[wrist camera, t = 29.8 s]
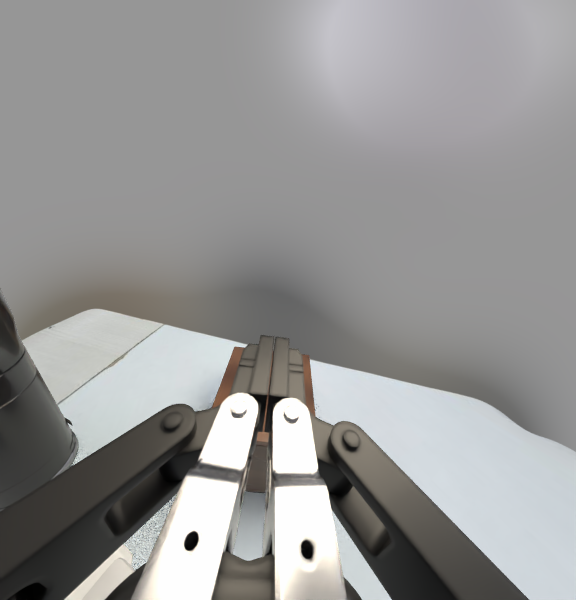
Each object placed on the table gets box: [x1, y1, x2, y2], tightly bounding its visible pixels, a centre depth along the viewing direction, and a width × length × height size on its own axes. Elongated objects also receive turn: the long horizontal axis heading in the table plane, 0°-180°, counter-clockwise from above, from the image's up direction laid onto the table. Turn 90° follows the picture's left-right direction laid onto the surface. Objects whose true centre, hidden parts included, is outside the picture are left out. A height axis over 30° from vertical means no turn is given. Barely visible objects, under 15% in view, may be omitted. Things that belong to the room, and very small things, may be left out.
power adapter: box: [64, 544, 135, 600], centre depth 18 cm, size 11×5×6 cm, turn 64°
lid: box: [212, 347, 315, 446], centre depth 29 cm, size 14×13×1 cm
